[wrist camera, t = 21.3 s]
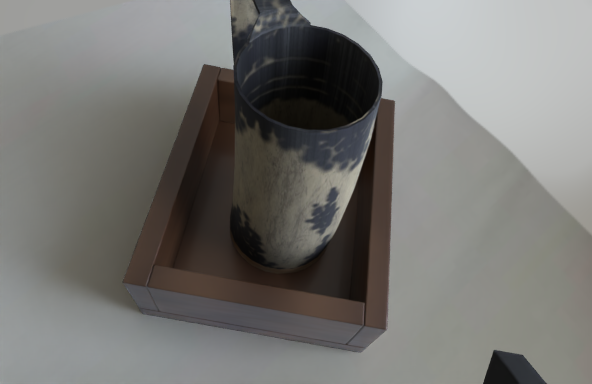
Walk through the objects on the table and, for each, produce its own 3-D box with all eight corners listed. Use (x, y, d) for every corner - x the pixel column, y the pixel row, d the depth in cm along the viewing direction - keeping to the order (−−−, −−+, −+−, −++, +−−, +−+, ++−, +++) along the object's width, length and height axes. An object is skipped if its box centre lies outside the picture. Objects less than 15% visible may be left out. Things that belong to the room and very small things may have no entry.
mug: (351, 250, 24) (438, 90, 13) (258, 295, 22) (277, 148, 12) (283, 142, 27) (311, -53, 17) (197, 173, 25) (170, -25, 15)
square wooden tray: (142, 313, 22) (121, 282, 18) (208, 116, 28) (203, 63, 25) (361, 352, 22) (387, 330, 18) (374, 148, 29) (395, 100, 25)
